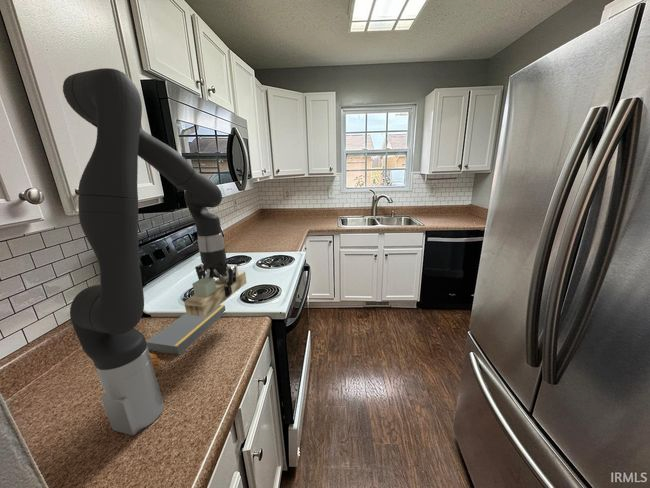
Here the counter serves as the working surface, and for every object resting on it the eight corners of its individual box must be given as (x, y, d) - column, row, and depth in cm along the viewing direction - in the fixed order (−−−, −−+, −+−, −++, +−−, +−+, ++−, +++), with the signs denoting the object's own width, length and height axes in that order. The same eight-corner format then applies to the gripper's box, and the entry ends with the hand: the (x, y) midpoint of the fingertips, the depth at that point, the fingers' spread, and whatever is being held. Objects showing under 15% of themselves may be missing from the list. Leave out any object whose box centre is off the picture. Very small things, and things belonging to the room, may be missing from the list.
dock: (179, 354, 81) (176, 346, 81) (148, 349, 84) (145, 341, 83) (226, 312, 105) (224, 305, 104) (200, 309, 108) (199, 302, 107)
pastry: (166, 371, 75) (163, 361, 74) (139, 386, 70) (135, 375, 69) (155, 357, 81) (152, 347, 80) (130, 370, 76) (126, 359, 75)
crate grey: (231, 280, 90) (229, 269, 89) (219, 279, 91) (218, 268, 90) (238, 275, 94) (236, 264, 93) (227, 274, 95) (225, 264, 94)
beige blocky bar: (204, 317, 76) (201, 303, 75) (186, 315, 78) (184, 301, 76) (246, 283, 98) (245, 271, 97) (232, 282, 100) (230, 270, 99)
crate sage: (207, 297, 78) (205, 284, 77) (194, 295, 79) (192, 283, 78) (216, 290, 82) (214, 278, 81) (204, 289, 84) (202, 277, 82)
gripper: (184, 250, 81) (194, 298, 86) (224, 252, 78) (232, 302, 83) (200, 243, 88) (208, 288, 93) (238, 244, 85) (244, 291, 90)
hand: (219, 294), depth 88 cm, fingers closed on beige blocky bar, 6 cm apart
